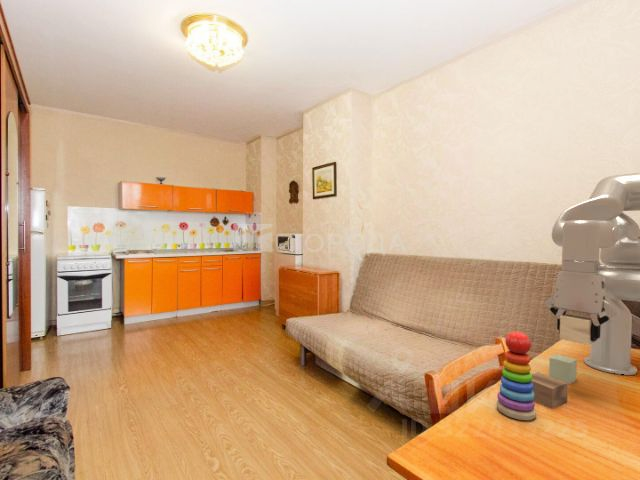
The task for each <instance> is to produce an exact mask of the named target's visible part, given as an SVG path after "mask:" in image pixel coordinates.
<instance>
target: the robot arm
mask: <svg viewBox="0 0 640 480" xmlns="http://www.w3.org/2000/svg"><path fill="white" fill-rule="evenodd" d="M634 211H635V212H636V211H640V172H637V173H636V172H635V173H634V172H633V173H626V174H616V175H610V176H608V177H607V176H606V177H604V178H603V179H601V180H599V182H598V183H597V184H596V186H595V188H594V190H593V191H592V192H591V195H590V197H589V198H588V199H586V200H584V201H582V202H580V203H577V204H576V205H573V206H571V207H569V208H567V209H565V210H563V211H562V212H561V213H560V214H559V216H558V217H557V219H556V221H555V222H554V224H553V227H552V230H551V239H552V241H553V243H554V244H555V245H557V247H561V248H562V249H561V270H560V271H558V273H557V278H556V281H555V284H554V285H555V286H554V294H553V295H552V296H550V297H548V299H546V300H545V301H544V302H543V304H544V306H545V307H547V309H549V311H550V312H551V313H552V314H553V315H554V316H555V318H556V319H557V320H556V322H557V324H556V329H557V331H558V334H559V335H560V316H562V315H565V314H567V313H568V311H572V312H576V313H577V312H578V313H583V314H588V315H589V317H591V319H592V322H593V324H592V325H591V337H590V340H591V341H595V342H594V343H592V344H590V350H589V351H590V353H589V354H590V355H589V356H586V357H584V358H583V362H584V364H586V365H587V366H589V367H591V368H593V369H596V370H598V371H602V372H604V373H605V372H606V373H610V374H614V373H615V374H614V375H621V374H624V375H623V376H634V375H637V374H636V373H638V369H637V367H636V366H635V365H632V364H631V355H632V353H631V352H632V330H633V329H632V326H633V324H632V323H633V315H632V312H631V311H630V309H629V308H628V306H627V305H626V304H625V303H624V302H623V301H629V302H630V301H631V302H639V303H640V238H639V234H640V233H639V232H640V226H639V224H638V223H637V222H636V221H635V220H634V219H633V218H632V217H630V216H629V215H627V214H626V213H624V212H634ZM601 262H602V263H601ZM607 266H608V267H607Z"/></svg>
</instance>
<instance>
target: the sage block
mask: <svg viewBox="0 0 640 480" xmlns="http://www.w3.org/2000/svg"><path fill="white" fill-rule="evenodd" d="M577 362H578V360H577V359H576V358H571V357H569V356H565V355H560V354H558V353H557V354H554V355H553V356H550V357H549V369H548V371H549V373H548V376H550V377H552V378H555V379H558V380H561V381H564V382H566V383H568V385H571V384H572V383H574V382H575V381H577V373H578V372H577V371H578V370H577V369H578V367H577V366H578V365H577V364H578V363H577Z"/></svg>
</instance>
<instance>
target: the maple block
mask: <svg viewBox="0 0 640 480" xmlns="http://www.w3.org/2000/svg"><path fill="white" fill-rule="evenodd" d="M592 324H593V322H592V319H591V317H590V316H588V315H587V316H586V315H582V314H576V313H569V312H567V313H566V314H565V315H562V316H560V334H559V339H560V340H563V341H567V342H572V343H577V344H580V345H585V346H591V344H592V343H594V342H595V341H591V340H590V337H591V325H592Z"/></svg>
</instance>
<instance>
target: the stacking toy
mask: <svg viewBox="0 0 640 480" xmlns="http://www.w3.org/2000/svg"><path fill="white" fill-rule="evenodd" d="M505 345H506V347H507V349H508V350H507V351H506V352H505V355H504V357H505V359H504V361H502V365H503V368H502V370H501V371H502V375H501V379H500V383H501V384H500V385H499V391H498V392H497V397H496V398H497V401H496V408H497V409H498V411H500V412H501V414H503V415H505V416H507V417H509V418H512V419H515V420H519V421H531V420H533V419H535V418H536V416H537V410H536V409H535V407H536V402H535V401H534V400H533V399H534V396H535V395H534V392H533V388H534V386H533V383H532V382H531V380H532V374H533V373H532V372H531V369H532V368H531V365H530V364H529V363H531V356H530V355H529V354H527V353H528V352H529V351H530V349H531V347H532V342H531V339H530V338H529V337H528V335H526V334H525V333H523V332H520V331H512V332H510V333H508V335H507V336H506V338H505Z"/></svg>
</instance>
